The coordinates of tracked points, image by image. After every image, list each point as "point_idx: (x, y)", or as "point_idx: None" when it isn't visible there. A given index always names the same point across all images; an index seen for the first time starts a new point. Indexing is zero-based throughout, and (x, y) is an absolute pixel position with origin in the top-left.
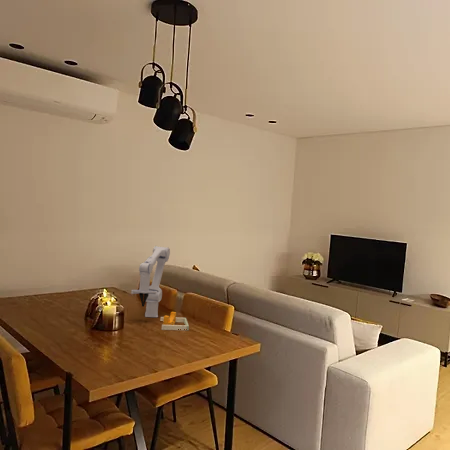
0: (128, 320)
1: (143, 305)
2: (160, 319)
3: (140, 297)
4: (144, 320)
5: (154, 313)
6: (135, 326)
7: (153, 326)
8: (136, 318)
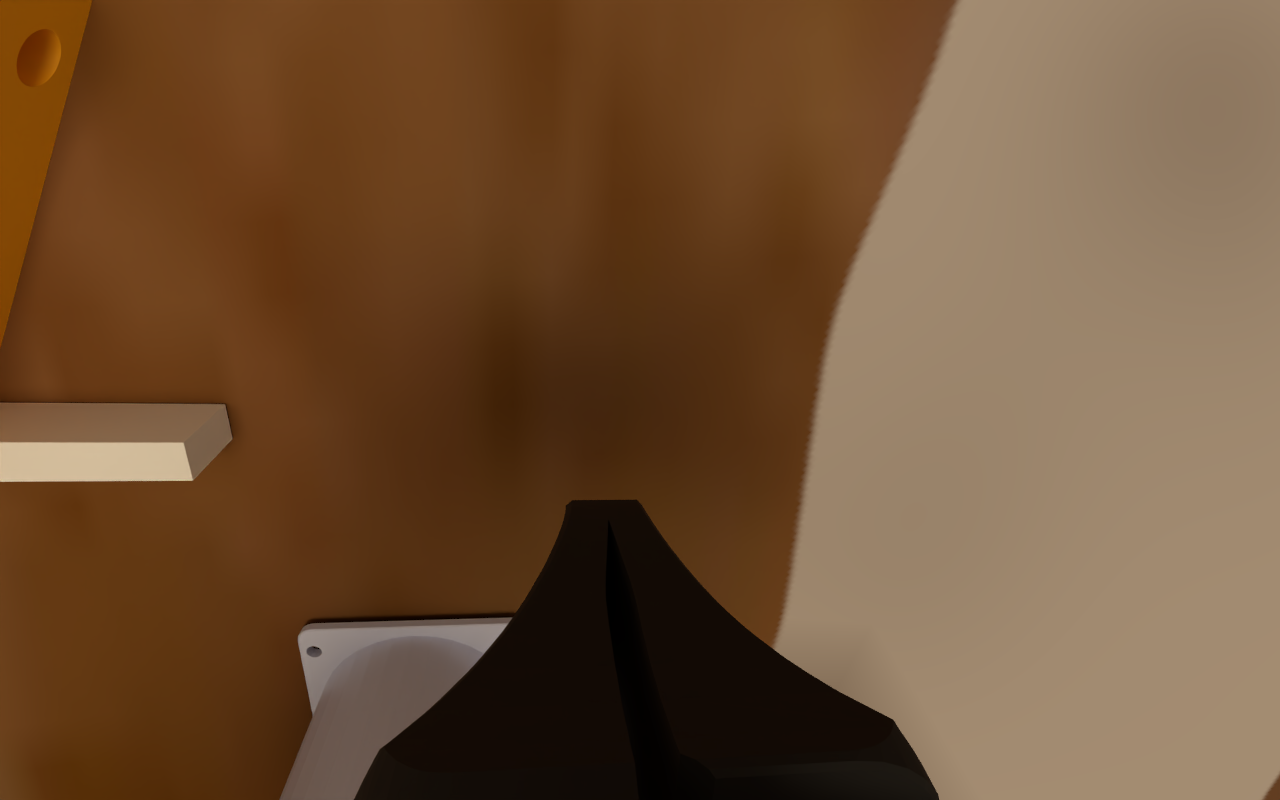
0: (810, 422)
1: (592, 510)
2: (213, 442)
3: (814, 690)
4: (535, 448)
5: (355, 683)
6: (727, 24)
7: (331, 37)
8: (667, 540)
